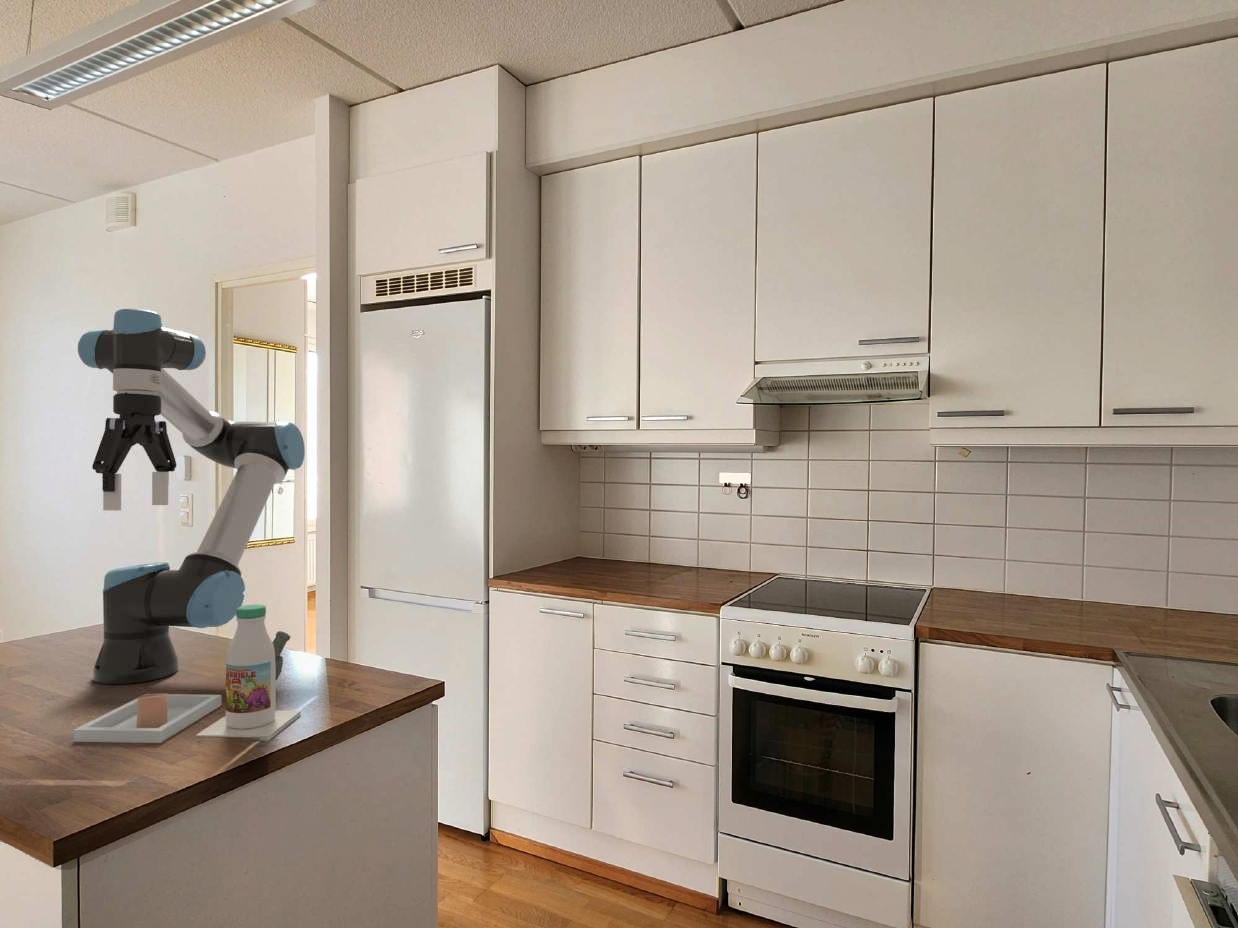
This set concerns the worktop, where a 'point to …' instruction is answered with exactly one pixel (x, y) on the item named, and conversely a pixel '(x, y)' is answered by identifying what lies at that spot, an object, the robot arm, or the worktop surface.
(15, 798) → the worktop surface
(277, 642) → the mortar and pestle
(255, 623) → the milk bottle
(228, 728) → the pad
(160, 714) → the pinkish brown rounded cylinder
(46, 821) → the worktop surface
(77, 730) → the tray
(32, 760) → the worktop surface
